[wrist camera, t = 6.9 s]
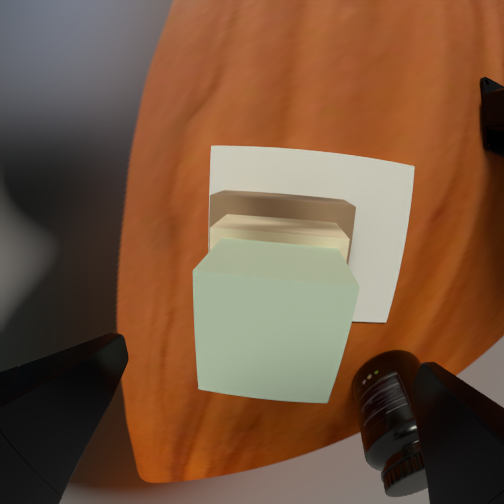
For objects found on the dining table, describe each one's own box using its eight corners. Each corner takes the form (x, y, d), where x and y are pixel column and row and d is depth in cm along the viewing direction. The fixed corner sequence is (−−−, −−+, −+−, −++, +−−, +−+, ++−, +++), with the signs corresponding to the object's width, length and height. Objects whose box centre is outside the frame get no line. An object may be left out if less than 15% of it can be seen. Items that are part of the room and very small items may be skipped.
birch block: (336, 223, 15) (349, 239, 11) (321, 319, 17) (327, 354, 13) (227, 214, 15) (209, 227, 12) (224, 311, 17) (210, 342, 14)
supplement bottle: (430, 366, 21) (477, 460, 10) (379, 408, 23) (401, 505, 12) (392, 333, 20) (444, 447, 9) (335, 383, 23) (349, 499, 11)
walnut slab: (343, 199, 18) (356, 206, 14) (328, 308, 20) (334, 334, 17) (223, 190, 19) (209, 195, 15) (221, 298, 21) (209, 322, 18)
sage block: (338, 248, 12) (359, 286, 8) (320, 345, 13) (327, 403, 9) (222, 237, 12) (193, 270, 8) (220, 335, 14) (198, 388, 10)
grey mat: (412, 166, 17) (414, 166, 16) (385, 320, 20) (386, 322, 20) (212, 146, 18) (211, 145, 18) (209, 306, 22) (208, 308, 21)
